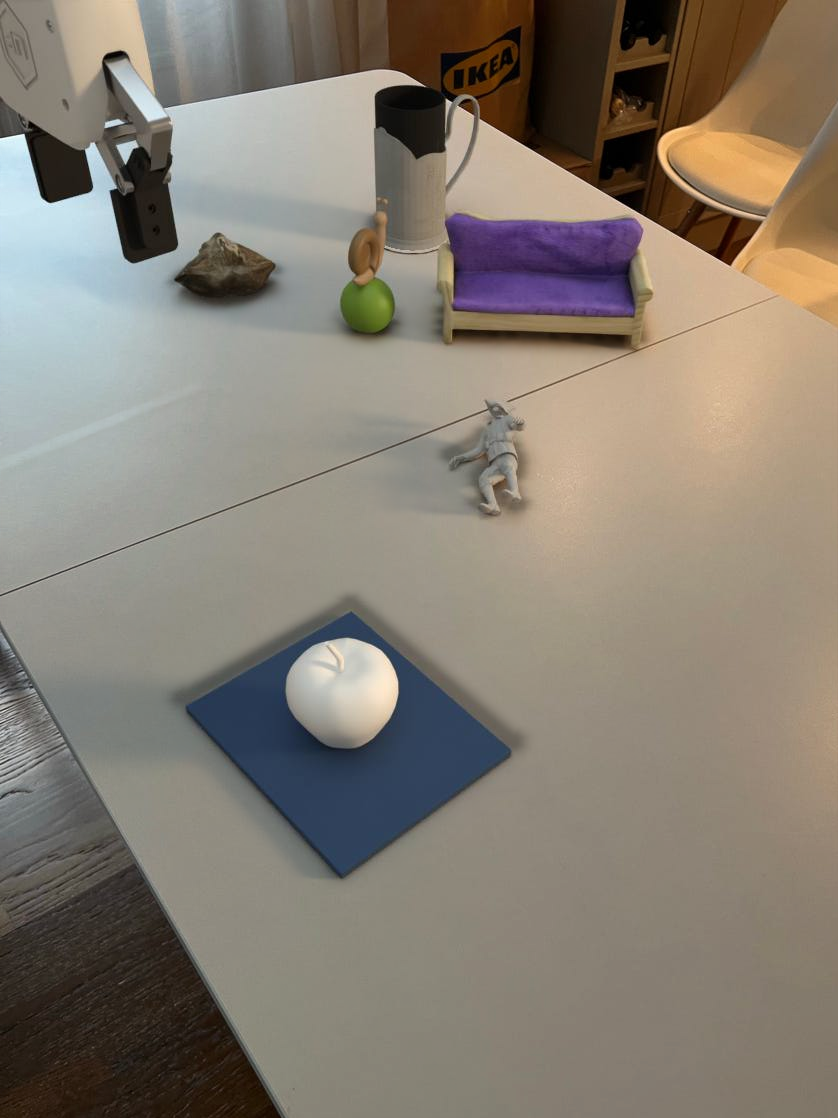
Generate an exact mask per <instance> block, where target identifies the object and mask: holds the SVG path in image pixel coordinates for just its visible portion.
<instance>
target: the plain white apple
mask: <svg viewBox="0 0 838 1118" xmlns="http://www.w3.org/2000/svg"><path fill="white" fill-rule="evenodd" d="M286 697H287V702H288V706H289V709H290V710H291V712H292V713H293V715H294V717H295V718H296V719H297V720H298V721H299V722H300V723H301V724H302V725H303V726H304V727H305V728H306V729H307V730H308V731H309V732H310V733H311V734H312V735H313V736H315V737H316V738H317V739H318V740H319V741H320V742H322V743H324V744H325V745H327V746H330V747H333V748H345V749H349V748H356V747H359V746H362V745H364V744H365V743H367V742H369V741H370V740H371V739H373V738H374V737H375V736H376V735H377V734H378V733H379V731H380V730H381V729H382V728H383V726H384V725H385V724H386V723H387V722H388V720H389V719H390V717H391V715H392V713H393V711H394V709H395V706H396V702H397V698H398V679H397V676H396V673H395V670H394V668H393V666H392V664H391V662H390V660H389V659H388V658H387V657H386V655H385V654H384V653H383V652H382V651H381V650H380V649H378V648H376V647H375V646H373V645H371V644H368V643H365V642H362V641H359V640H356V639H351V638H341V639H335V640H331V641H326V642H322V643H319V644H316V645H313V646H312V647H311V648H309V649H308V650H306V651H305V652H304V653H303V654H302V655H301V656H300V657H299V658H298V659H297V660H296V662H295V663H294V664H293V665H292V667H291V669H290V671H289V673H288V676H287V680H286Z"/></svg>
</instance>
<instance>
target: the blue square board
mask: <svg viewBox="0 0 838 1118" xmlns="http://www.w3.org/2000/svg"><path fill="white" fill-rule="evenodd" d="M341 638H351V639H356V640H359V641H362V642H365V643H368V644H371V645H373V646H375V647H376V648H378V649H380V650H381V651H382V652H383V653H384V654H385V655H386V657H387V658H388V659H389V660H390V662H391V664H392V666H393V668H394V670H395V673H396V676H397V679H398V698H397V702H396V706H395V709H394V711H393V713H392V715H391V717H390V719H389V720H388V722H387V723H386V724H385V725H384V726H383V728H382V729H381V730H380V731H379V733H378V734H377V735H376V736H375V737H374V738H373V739H371V740H370V741H369V742H367V743H365V744H364V745H362V746H359V747H356V748H349V749H345V748H333V747H330V746H327V745H325V744H324V743H322V742H320V741H319V740H318V739H317V738H316V737H315V736H313V735H312V734H311V733H310V732H309V731H308V730H307V729H306V728H305V727H304V726H303V725H302V724H301V723H300V722H299V721H298V720H297V719H296V718H295V717H294V715H293V713H292V712H291V710H290V709H289V706H288V702H287V697H286V680H287V676H288V673H289V671H290V669H291V667H292V665H293V664H294V663H295V662H296V660H297V659H298V658H299V657H300V656H301V655H302V654H303V653H304V652H305V651H306V650H308V649H309V648H311V647H312V646H313V645H316V644H319V643H322V642H326V641H331V640H335V639H341ZM185 710H186V712H187V714H188V715H189V716H190V717H191V718H192V719H193V720H194V721H195V722H196V724H198V726H199V727H200V728H201V729H202V730H203V731H204V732H205V733H206V734H207V735H208V736H209V737H210V738H211V739H212V741H213V742H214V743H215V744H216V745H217V746H218V747H219V748H220V749H221V750H222V751H223V753H224V754H225V755H226V756H227V757H228V758H229V759H230V760H231V761H232V763H234V764H235V766H237V768H238V769H239V770H240V771H241V772H242V773H243V774H244V775H245V776H246V778H247V779H248V780H250V782H251V783H252V784H253V785H254V786H255V787H256V788H257V789H258V791H260V793H261V794H262V795H263V796H264V797H265V798H266V799H267V800H268V801H269V802H270V803H271V804H272V806H274V807H275V809H276V810H277V811H278V812H279V813H280V814H281V815H282V816H283V817H284V818H285V820H287V822H288V823H289V824H290V825H291V826H292V827H293V828H294V829H295V830H296V832H298V833H299V835H301V837H302V838H303V839H304V840H305V841H306V842H307V843H308V844H309V846H311V847H312V849H313V850H314V851H315V852H316V853H317V854H318V855H319V856H320V857H321V858H322V859H323V860H324V862H325V863H326V864H327V865H328V866H329V867H330V868H331V869H332V870H333V871H334V872H335V873H336V874H337V876H338V877H339V878H341V879H343V878H345V877H346V876H347V875H349V874H350V873H352V872H353V871H354V870H356V869H358V867H360V866H361V865H362V864H364V863H365V862H367V861H368V860H369V859H370V858H372V857H373V856H375V855H376V854H378V853H379V852H381V851H382V850H383V849H385V848H386V847H387V846H389V845H390V844H391V843H393V842H394V841H396V840H397V839H398V838H400V837H402V835H403V834H405V833H406V832H408V831H410V830H411V829H412V828H413V827H415V826H416V825H417V824H419V823H420V822H422V821H423V820H425V818H427V817H428V816H430V815H431V814H432V813H434V812H435V811H437V810H438V809H439V808H440V807H442V806H444V805H445V804H446V803H447V802H449V801H450V800H452V799H453V798H454V797H456V796H457V795H458V794H460V793H461V792H463V791H464V790H465V789H467V788H468V787H469V786H471V785H472V784H473V783H475V782H477V780H479V779H480V778H482V777H483V776H485V775H486V774H487V773H488V772H490V771H491V770H493V769H494V768H496V767H497V766H499V764H501V763H503V762H504V761H505V760H506V759H508V758H509V757H511V755H512V748H510V747H509V746H508V745H507V744H505V743H504V742H503V741H502V740H500V739H499V738H498V737H497V736H496V735H495V734H494V733H493V732H492V731H490V730H489V729H488V728H487V727H486V726H484V725H483V724H482V723H481V722H480V721H479V720H478V719H476V717H474V716H473V715H472V714H471V713H469V712H468V711H467V710H466V709H465V708H464V707H463V706H461V705H460V704H459V703H458V702H457V701H455V699H453V698H452V697H451V696H450V695H449V694H447V693H446V692H445V691H444V690H443V689H442V688H441V687H440V686H438V685H437V683H435V682H434V681H433V680H432V679H430V678H429V677H428V676H427V675H426V674H425V673H424V672H422V670H420V669H419V668H418V667H416V666H415V664H413V663H412V662H411V661H410V660H409V659H407V658H406V657H405V656H404V655H403V654H402V653H400V652H399V651H398V650H397V649H396V648H395V647H394V646H393V645H391V644H390V643H389V642H388V641H386V640H385V639H384V638H383V637H382V636H381V635H380V634H379V633H377V632H376V631H375V630H374V629H373V628H372V627H371V626H369V625H368V624H367V623H366V621H365V622H364V620H362V618H360V617H359V616H358V615H356V613H354V612H353V611H349V612H347V613H346V614H344V615H342V616H340V617H339V618H337V619H335V620H333V621H331V622H330V623H328V624H326V625H324V626H323V627H321V628H319V629H318V630H316V631H314V632H312V633H311V634H308V635H307V636H306V637H303V638H301V639H300V640H299V641H297V642H295V643H293V644H292V645H289V646H288V647H286V648H284V649H283V650H281V651H279V652H277V653H276V654H274V655H272V656H270V657H268V658H266V660H263V661H262V662H260V663H258V664H257V665H255V666H253V667H251V668H250V669H248V670H246V671H244V672H242V673H241V674H239V675H237V676H235V677H234V678H232V679H230V680H229V681H227V682H225V683H223V684H222V685H220V686H218V687H216V688H214V689H213V690H211V691H209V692H208V693H206V694H204V695H203V696H200V697H199V698H197V699H196V700H193V701H192V702H190V703H188V704H187V705H185Z"/></svg>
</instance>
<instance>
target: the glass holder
mask: <svg viewBox="0 0 838 1118" xmlns="http://www.w3.org/2000/svg"><path fill="white" fill-rule="evenodd" d="M468 99H469V100H470V101H471V103H472V105H473V123H472V124H473V125H472V130H471V136H470V140H469V143H468V147H467V149H466V152H465V154H464V157H463V159H462V160H461V163H460V165H459V166H458V168H457V170H456V171H455V173H454V174H453V175H452V177H451V178H450V179H449V181H448V183H447V152H448V151H447V146H446V143H447V142H448V141H449V140H450V139H451V136H452V131H453V119H454V116H455V112H456V110H457V107H458V106H459V105H460V104H461V102H462V101H464V100H468ZM446 112H447V98H446V95H445V94H444V93H443V92H442V91H440V90H438V89H435V88H432V87H429V86H424V85H418V84H399V85H391V86H387V87H384V88H381V89H380V90H378V91H376V92H375V94H374V126H375V127H373V145H374V146H373V149H374V154H373V155H374V181H375V183H374V184H375V185H374V186H375V200H376V199H377V198H378V197H379V198H381V200H383V199H386V200H387V201H388V203H387V205H386V216H387V222H386V226H385V232H386V237H385V245H386V246H388V247H391V248H395V249H400V250H410V251H415V250H425V249H430V248H433V247H436V246H438V245H440V244H442V243H443V242H444V241H445V240H446V239H447V237H448V234H447V229H446V226H445V221H446V202H447V201H446V199H447V196H448V194H449V192H451V190H452V189H453V188H454V186H455V184H456V183H457V182H458V180H459V179H460V177H461V175H462V174H463V173H464V171H465V170H466V168H467V166H468V164H469V163H470V160H471V158H472V155H473V153H474V150H475V146H476V144H477V143H476V142H477V140H478V135H479V129H480V118H481V112H480V105H479V102H478V100H477V99H476V98H475V97H474V96H473V95H470V94H465V93H463V94H460V95H458V96H457V97H456V98H454V100H453V101H452V102H451V104H450V106H449V108H448V112H447V113H446ZM446 115H447V116H446ZM379 205H380V211H383V212H385V205H383V204H382V201H381V203H379V204H378V203H377V202H376V201H375V213H376V212H378V211H379Z"/></svg>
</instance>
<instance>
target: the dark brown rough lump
mask: <svg viewBox="0 0 838 1118" xmlns="http://www.w3.org/2000/svg"><path fill="white" fill-rule="evenodd" d="M276 267H277V265H276V263H275V262H274V261H272V260H271V259H269V258H267V257H265V256H264V255H262V254H260V253H259V252H257V251H255V250H252V249H250V248H249V247H246V246H245V245H243V244H240V243H237V242H236V241H233V240H230V239H228V237H226V236H225V235H224V234H223V233H221V232H218V231H217V232H215V233H213V234H212V235H211V237H210V238H209V239H208V240H206V241H205V242H203V243H201V247H200V248H199V249H198V254H197V255H196V257H194V258H193V259H192V260H190V261H189V262H187V264H186V265H184V267H183V268H182V269H181V270H180V271H179V272H178V274H177V275H176V276H175V277H174V279H173V281H174V282H175V283H178V284H179V285H181V286H182V287H184V288H185V289H186V290H188V291H189V292H191V293H192V294H194V295H196V296H198V297H202V298H204V299H222V298H225V297H229V296H238V297H239V296H248V295H251V294H252V293H255V292H257V291H258V290H260V289H261V288H262V287H263V286H264V285H266V283H267V281H268V279H269V278H270V275H271V274H272V273H273V271H275V269H276Z"/></svg>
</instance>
